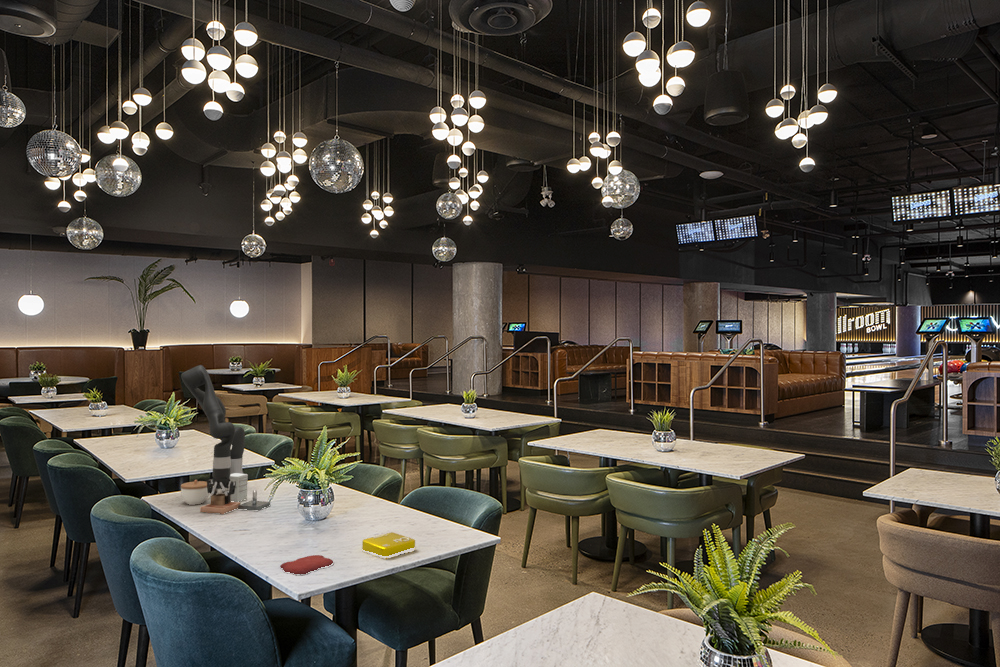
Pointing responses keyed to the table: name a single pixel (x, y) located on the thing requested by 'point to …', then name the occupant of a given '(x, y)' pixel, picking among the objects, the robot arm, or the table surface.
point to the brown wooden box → (219, 499)
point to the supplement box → (239, 486)
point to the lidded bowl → (194, 492)
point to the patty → (306, 564)
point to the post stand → (254, 503)
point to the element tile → (387, 544)
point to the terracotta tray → (219, 508)
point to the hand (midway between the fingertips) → (220, 503)
